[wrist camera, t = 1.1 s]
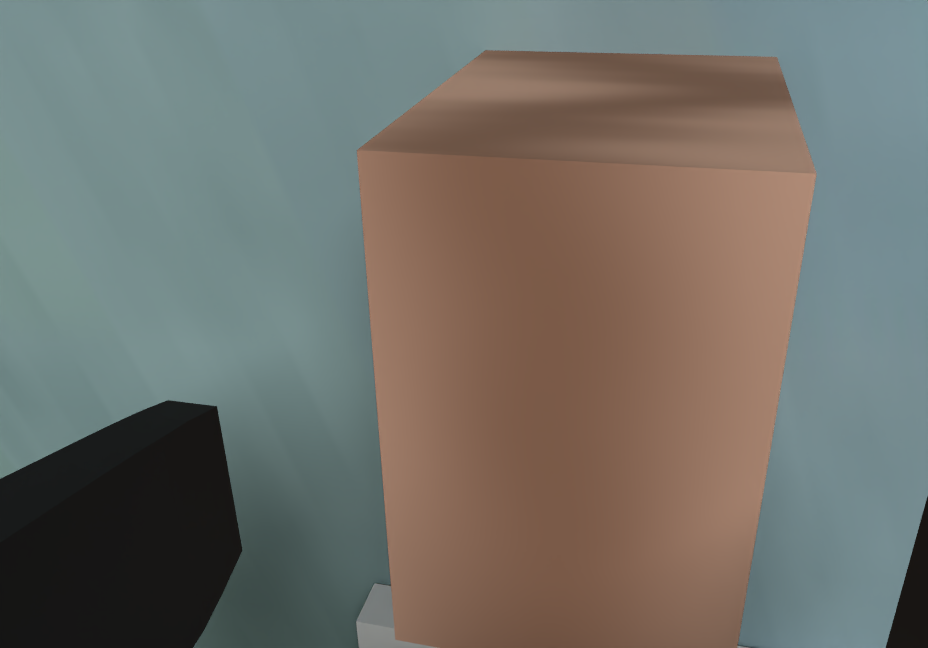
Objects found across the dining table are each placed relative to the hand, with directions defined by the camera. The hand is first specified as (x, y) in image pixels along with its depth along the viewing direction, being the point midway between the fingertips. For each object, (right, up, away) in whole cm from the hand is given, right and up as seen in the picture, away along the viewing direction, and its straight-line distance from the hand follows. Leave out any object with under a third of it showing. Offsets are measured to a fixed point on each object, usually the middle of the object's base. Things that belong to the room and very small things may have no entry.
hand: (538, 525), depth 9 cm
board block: (+2, +3, +6) cm, 7 cm away
